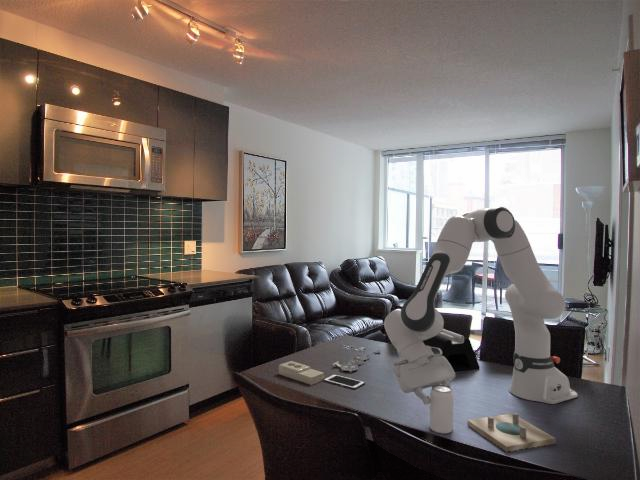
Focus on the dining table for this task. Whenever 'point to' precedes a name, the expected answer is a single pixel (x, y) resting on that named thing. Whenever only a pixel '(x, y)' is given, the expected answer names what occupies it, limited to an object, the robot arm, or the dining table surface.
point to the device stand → (455, 350)
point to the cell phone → (344, 381)
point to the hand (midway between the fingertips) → (439, 400)
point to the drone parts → (352, 366)
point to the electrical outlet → (300, 372)
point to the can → (441, 409)
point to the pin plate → (511, 432)
